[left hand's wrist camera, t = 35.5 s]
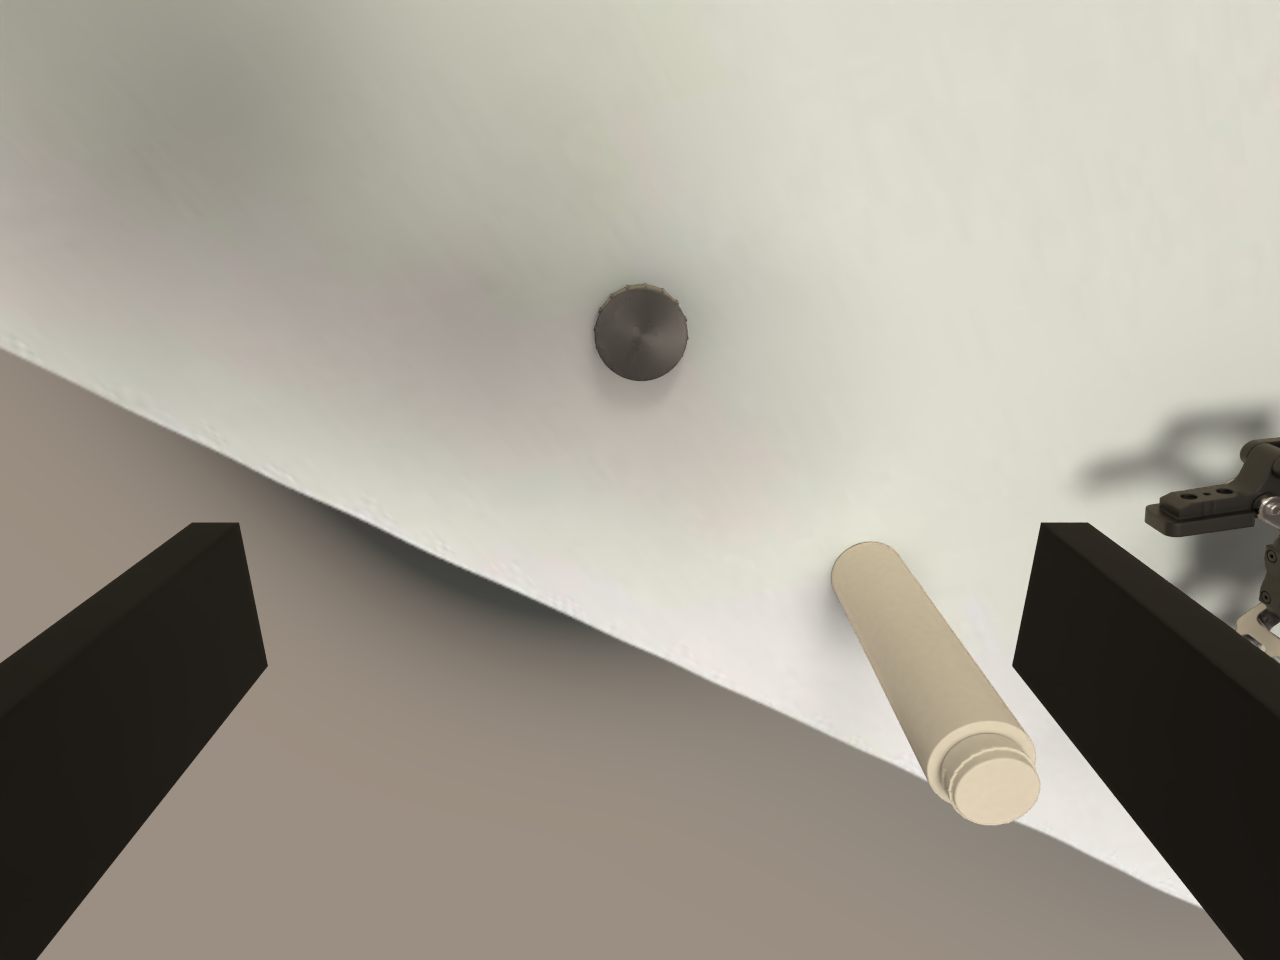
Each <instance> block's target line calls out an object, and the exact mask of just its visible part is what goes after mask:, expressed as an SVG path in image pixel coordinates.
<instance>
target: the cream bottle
mask: <svg viewBox="0 0 1280 960" xmlns="http://www.w3.org/2000/svg"><path fill="white" fill-rule="evenodd" d="M831 580H832V585H833V588H834V591H835V593H836V595H837V597H838V599H839V601H840V603H841V605H842V607H843V609H844V611H845V613H846V615H847V617H848V619H849V621H850V623H851V625H852V627H853V629H854V631H855V633H856V635H857V637H858V639H859V642H860V644H861V646H862V648H863V650H864V652H865V654H866V656H867V658H868V660H869V662H870V664H871V666H872V668H873V670H874V672H875V674H876V676H877V678H878V680H879V682H880V684H881V686H882V688H883V690H884V692H885V695H886V697H887V699H888V701H889V703H890V705H891V707H892V709H893V711H894V713H895V715H896V717H897V719H898V721H899V723H900V725H901V727H902V729H903V731H904V733H905V735H906V737H907V739H908V741H909V743H910V745H911V748H912V750H913V752H914V754H915V756H916V758H917V760H918V762H919V764H920V766H921V768H922V770H923V772H924V774H925V776H926V778H927V780H928V782H929V784H930V786H931V788H932V789H933V791H934V792H935V793H936V794H937V795H938V796H939V797H941V798H942V799H943V800H945V801H947V802H949V803H951V804H952V805H953V807H954V809H955V810H956V811H957V812H958V813H959V814H960V815H961V816H962V817H963V818H966V819H968V820H970V821H972V822H974V823H978V824H982V825H1000V824H1005V823H1009V822H1012V821H1014V820H1016V819H1018V818H1019V817H1021V816H1023V815H1024V814H1025V813H1027V812H1028V811H1029V810H1030V809H1031V808H1032V806H1033V805H1034V804H1035V802H1036V801H1037V798H1038V796H1039V793H1040V780H1039V777H1038V774H1037V773H1036V770H1035V768H1036V767H1035V763H1036V752H1035V747H1034V745H1033V742H1032V741H1031V739H1030V738H1029V736H1028V735H1027V733H1026V732H1025V731H1024V729H1023V728H1022V726H1021V725H1020V724H1019V722H1018V721H1017V719H1016V718H1015V717H1014V715H1013V714H1012V712H1011V711H1010V710H1009V708H1008V707H1007V705H1006V704H1005V703H1004V701H1003V700H1002V698H1001V697H1000V696H999V694H998V693H997V691H996V690H995V689H994V687H993V686H992V684H991V683H990V682H989V680H988V679H987V678H986V676H985V675H984V673H983V672H982V671H981V669H980V668H979V666H978V665H977V664H976V662H975V661H974V659H973V658H972V657H971V655H970V654H969V652H968V651H967V650H966V648H965V647H964V645H963V644H962V643H961V641H960V640H959V638H958V637H957V636H956V634H955V633H954V631H953V630H952V629H951V627H950V626H949V624H948V623H947V622H946V620H945V619H944V617H943V616H942V615H941V613H940V612H939V611H938V609H937V608H936V606H935V605H934V604H933V602H932V601H931V599H930V598H929V597H928V595H927V594H926V592H925V591H924V590H923V588H922V587H921V585H920V584H919V583H918V581H917V580H916V578H915V577H914V576H913V574H912V573H911V571H910V570H909V569H908V567H907V566H906V564H905V563H904V562H903V560H902V559H901V557H900V556H899V555H898V554H897V552H896V551H895V550H893V549H892V548H890V547H889V546H887V545H884V544H881V543H876V542H866V543H861V544H858V545H855V546H853V547H851V548H849V549H848V550H846V551H845V552H844V553H843V554H842V555H841V556H840V557H839V558H838V559H837V561H836V562H835V565H834V567H833V570H832V575H831Z"/></svg>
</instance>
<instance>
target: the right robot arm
mask: <svg viewBox="0 0 1280 960" xmlns="http://www.w3.org/2000/svg"><path fill="white" fill-rule="evenodd" d="M1240 458H1241V460H1242V461H1243V462H1244V465H1243V467H1242V469H1241V471H1240V473H1239V474H1238V476H1237V477H1236V478H1233V479H1231V480H1229V481H1228V482H1226V483H1225V484H1223V485H1217V486H1210V487H1203V488H1197V489H1190V490H1185V491H1177V492H1171V493H1169V494H1167V495H1165V496H1163V497H1161V498H1160V503H1159V504H1152V505H1148V506H1146V511H1145V522H1146V523H1147V524H1148V525H1150V526H1152V527H1153V528H1155V529H1156V530H1158V531H1159V532H1161V533H1162V534H1164V535H1166V536H1170V537H1184V536H1190V535H1197V534H1204V533H1211V532H1218V531H1225V530H1232V529H1238V528H1245V527H1252V526H1254V521H1255V518H1259V519H1260V520H1262V521H1264V522H1266V523H1267V524H1269V525H1271V526H1273V527H1275V528H1276V529H1278V530H1280V437H1279V438H1269V439H1259V440H1252V441H1250V442H1248V443H1247V444H1245V445H1244V446H1243V448H1242V449H1241V452H1240ZM1265 564H1266V569H1267V574H1266V576H1265V579H1264V581H1263V583H1262V586H1261V589H1260V596H1259V601H1260V603H1259V604H1258V605H1256V606H1255V607H1253V608H1252V609H1251V610H1249V611H1248V612H1246V613H1245V614H1244V615H1242V616H1241V617H1239V618H1238V619H1237V621H1236V626H1237V628H1236V630H1235V631H1236V632H1238V633H1239V634H1240V635H1242V636H1243V637H1244V638H1246V639H1247V640H1249V641H1250V642H1251V643H1253V644H1254V645H1255V646H1257V647H1258V648H1260V649H1263V650H1265V653H1266V654H1268V655H1269V656H1270V657H1272V658H1273V659H1274V660H1276V661H1277V662H1279V663H1280V638H1279V637H1277V636H1276V635H1275V634H1273V633H1272V632H1270V629H1271V628H1272V627H1273V626H1275V625H1276V624H1278V623H1279V622H1280V535H1279V536H1278V537H1277V539H1276V540H1275V542H1274V544H1272V545H1267V546H1266V553H1265Z"/></svg>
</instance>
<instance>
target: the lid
mask: <svg viewBox="0 0 1280 960" xmlns="http://www.w3.org/2000/svg"><path fill="white" fill-rule="evenodd" d="M686 321H687V319H686V316H684V315H683V313H682V310H681V308H680V307H679V303H678V301H677V300H674V298H673V297H671V296H670V295H669V294H668V293H667V292H665V290H664V289H663V288H662V289H660V288H657V287H655V286H650V285H647V283H645V285H643V284H641V285H632V286H629V285H626V287H625V288H623V289H621V290H619V291H617V292H616V293H614V294H611V295H610V298H609V299H608V300H607V301H606V302H605V304H604V305H603V307H602V308H601V307H600V309H599V316H598V319H597V322H596V325H595V327H594V331H595V342H596V349H597V350H598V352H599V355H600V357H601V358H602V360H603V361H604V363H605V364H606V365H607V366H608V367H609V368H610V369H611V370H612V371H613V372H615V373H616V374H618V375H620V376H621V377H624V378H627V379H630V380H635V381H647V380H652V379H656V378H658V377H661V376H663V375H665V374H666V373H668V372H669V371H670V370H672V369H673V368H674V367H675V366H676V365H677V363H678V362H679V360H680V359H681V357H682V356H683V353H684V351H685V348H686V344H687V340H688V335H687V325H686Z"/></svg>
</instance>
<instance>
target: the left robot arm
mask: <svg viewBox="0 0 1280 960" xmlns="http://www.w3.org/2000/svg"><path fill="white" fill-rule="evenodd" d="M267 666H268V664H267V660H266V655H265V650H264V645H263V640H262V635H261V630H260V625H259V620H258V615H257V610H256V605H255V600H254V595H253V590H252V585H251V581H250V575H249V570H248V565H247V560H246V555H245V550H244V546H243V540H242V536H241V531H240V526H239V523H191V524H190V525H188V526H187V527H185V528H184V529H183V530H181V531H180V532H179V533H177V534H176V535H175V536H173V537H172V538H170V539H169V540H168V541H166V542H165V543H164V544H162V545H161V546H160V547H158V548H157V549H155V550H154V551H153V552H151V553H150V554H149V555H147V556H146V557H145V558H143V559H142V560H140V561H139V562H138V563H136V564H135V565H134V566H132V567H131V568H130V569H128V570H127V571H126V572H124V573H123V574H121V575H120V576H119V577H117V578H116V579H115V580H113V581H112V582H111V583H109V584H108V585H107V586H105V587H104V588H102V589H101V590H100V591H98V592H97V593H96V594H94V595H93V596H91V597H90V598H89V599H87V600H86V601H85V602H83V603H82V604H81V605H79V606H78V607H76V608H75V609H74V610H72V611H71V612H70V613H68V614H67V615H66V616H64V617H63V618H61V619H60V620H59V621H57V622H56V623H55V624H53V625H52V626H51V627H49V628H48V629H46V630H45V631H44V632H42V633H41V634H40V635H38V636H37V637H36V638H34V639H33V640H31V641H30V642H29V643H27V644H26V645H25V646H23V647H22V648H21V649H19V650H18V651H17V652H15V653H14V654H12V655H11V656H10V657H8V658H7V659H6V660H4V661H3V662H1V663H0V960H36V959H37V958H38V957H39V955H40V954H41V953H42V952H43V950H44V949H45V948H46V947H47V945H48V944H49V943H50V942H51V940H52V939H53V938H54V936H55V935H56V934H57V933H58V931H59V930H60V929H61V927H62V926H63V925H64V924H65V922H66V921H67V920H68V919H69V917H70V916H71V915H72V914H73V912H74V911H75V910H76V909H77V907H78V906H79V905H80V903H81V902H82V901H83V900H84V898H85V897H86V896H87V895H88V893H89V892H90V891H91V890H92V888H93V887H94V886H95V884H96V883H97V882H98V881H99V879H100V878H101V877H102V876H103V874H104V873H105V872H106V871H107V869H108V868H109V867H110V865H111V864H112V863H113V862H114V860H115V859H116V858H117V857H118V855H119V854H120V853H121V851H122V850H123V849H124V848H125V846H126V845H127V844H128V843H129V841H130V840H131V839H132V838H133V836H134V835H135V834H136V832H137V831H138V830H139V829H140V827H141V826H142V825H143V824H144V822H145V821H146V820H147V819H148V817H149V816H150V815H151V813H152V812H153V811H154V810H155V808H156V807H157V806H158V805H159V803H160V802H161V801H162V799H163V798H164V797H165V796H166V794H167V793H168V792H169V791H170V789H171V788H172V787H173V786H174V784H175V783H176V782H177V780H178V779H179V778H180V777H181V775H182V774H183V773H184V772H185V770H186V769H187V768H188V767H189V765H190V764H191V763H192V761H193V760H194V759H195V758H196V756H197V755H198V754H199V753H200V751H201V750H202V749H203V748H204V746H205V745H206V744H207V742H208V741H209V740H210V739H211V737H212V736H213V735H214V734H215V732H216V731H217V730H218V728H219V727H220V726H221V725H222V723H223V722H224V721H225V720H226V718H227V717H228V716H229V715H230V713H231V712H232V711H233V709H234V708H235V707H236V706H237V704H238V703H239V702H240V701H241V699H242V698H243V697H244V695H245V694H246V693H247V692H248V690H249V689H250V688H251V687H252V685H253V684H254V683H255V682H256V680H257V679H258V678H259V676H260V675H261V674H262V673H263V671H264V670H265V669H266V668H267ZM1012 666H1013V668H1014V669H1015V670H1016V671H1017V673H1018V674H1019V675H1020V677H1021V678H1022V679H1023V680H1024V682H1025V683H1026V684H1027V685H1028V687H1029V688H1030V689H1031V690H1032V692H1033V693H1034V694H1035V696H1036V697H1037V698H1038V699H1039V701H1040V702H1041V703H1042V704H1043V706H1044V707H1045V708H1046V709H1047V711H1048V712H1049V713H1050V715H1051V716H1052V717H1053V718H1054V720H1055V721H1056V722H1057V723H1058V725H1059V726H1060V727H1061V728H1062V730H1063V731H1064V732H1065V734H1066V735H1067V736H1068V737H1069V739H1070V740H1071V741H1072V742H1073V744H1074V745H1075V746H1076V748H1077V749H1078V750H1079V751H1080V753H1081V754H1082V755H1083V756H1084V758H1085V759H1086V760H1087V761H1088V763H1089V764H1090V765H1091V767H1092V768H1093V769H1094V770H1095V772H1096V773H1097V774H1098V775H1099V777H1100V778H1101V779H1102V780H1103V782H1104V783H1105V784H1106V786H1107V787H1108V788H1109V789H1110V791H1111V792H1112V793H1113V794H1114V796H1115V797H1116V798H1117V799H1118V801H1119V802H1120V803H1121V805H1122V806H1123V807H1124V808H1125V810H1126V811H1127V812H1128V813H1129V815H1130V816H1131V817H1132V819H1133V820H1134V821H1135V822H1136V824H1137V825H1138V826H1139V827H1140V829H1141V830H1142V831H1143V832H1144V834H1145V835H1146V836H1147V838H1148V839H1149V840H1150V841H1151V843H1152V844H1153V845H1154V846H1155V848H1156V849H1157V850H1158V851H1159V853H1160V854H1161V855H1162V857H1163V858H1164V859H1165V860H1166V862H1167V863H1168V864H1169V865H1170V867H1171V868H1172V869H1173V871H1174V872H1175V873H1176V874H1177V876H1178V877H1179V878H1180V879H1181V881H1182V882H1183V883H1184V884H1185V886H1186V887H1187V888H1188V890H1189V891H1190V892H1191V893H1192V895H1193V896H1194V897H1195V898H1196V900H1197V901H1198V902H1199V903H1200V905H1201V906H1202V907H1203V909H1204V910H1205V911H1206V912H1207V914H1208V915H1209V916H1210V917H1211V919H1212V920H1213V921H1214V922H1215V924H1216V925H1217V926H1218V928H1219V929H1220V930H1221V931H1222V933H1223V934H1224V935H1225V936H1226V938H1227V939H1228V940H1229V942H1230V943H1231V944H1232V945H1233V947H1234V948H1235V949H1236V950H1237V952H1238V953H1239V954H1240V955H1241V957H1242V958H1243V959H1244V960H1280V663H1279V662H1277V661H1276V660H1274V659H1273V658H1272V657H1270V656H1269V655H1268V654H1266V653H1265V652H1264V651H1262V650H1261V649H1259V648H1258V647H1257V646H1255V645H1254V644H1253V643H1251V642H1250V641H1249V640H1247V639H1246V638H1244V637H1243V636H1242V635H1240V634H1239V633H1238V632H1236V631H1235V630H1234V629H1232V628H1231V627H1229V626H1228V625H1227V624H1225V623H1224V622H1223V621H1221V620H1220V619H1219V618H1217V617H1216V616H1214V615H1213V614H1212V613H1210V612H1209V611H1208V610H1206V609H1205V608H1204V607H1202V606H1201V605H1199V604H1198V603H1197V602H1195V601H1194V600H1193V599H1191V598H1190V597H1189V596H1187V595H1186V594H1184V593H1183V592H1182V591H1180V590H1179V589H1178V588H1176V587H1175V586H1174V585H1172V584H1171V583H1169V582H1168V581H1167V580H1165V579H1164V578H1163V577H1161V576H1160V575H1159V574H1157V573H1156V572H1154V571H1153V570H1152V569H1150V568H1149V567H1148V566H1146V565H1145V564H1144V563H1142V562H1141V561H1140V560H1138V559H1137V558H1135V557H1134V556H1133V555H1131V554H1130V553H1129V552H1127V551H1126V550H1125V549H1123V548H1122V547H1120V546H1119V545H1118V544H1116V543H1115V542H1114V541H1112V540H1111V539H1110V538H1108V537H1107V536H1105V535H1104V534H1103V533H1101V532H1100V531H1099V530H1097V529H1096V528H1095V527H1093V526H1092V525H1090V524H1089V523H1041V526H1040V531H1039V536H1038V540H1037V545H1036V550H1035V555H1034V560H1033V565H1032V570H1031V575H1030V580H1029V585H1028V590H1027V595H1026V600H1025V605H1024V610H1023V615H1022V620H1021V625H1020V630H1019V635H1018V640H1017V645H1016V650H1015V655H1014V660H1013V664H1012Z"/></svg>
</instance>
